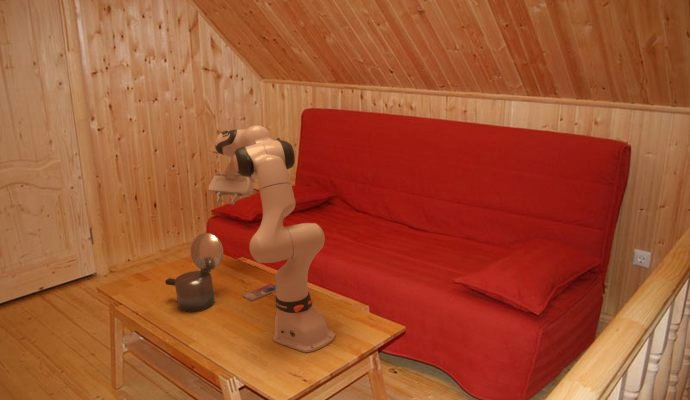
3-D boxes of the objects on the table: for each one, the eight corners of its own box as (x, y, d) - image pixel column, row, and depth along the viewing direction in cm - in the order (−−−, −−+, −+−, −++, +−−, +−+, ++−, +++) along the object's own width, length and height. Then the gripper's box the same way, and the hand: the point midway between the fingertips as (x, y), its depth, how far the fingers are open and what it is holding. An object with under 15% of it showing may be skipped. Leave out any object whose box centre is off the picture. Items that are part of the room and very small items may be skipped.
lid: (189, 269, 228) (193, 269, 230) (220, 274, 222) (224, 273, 225) (191, 231, 228) (196, 231, 230) (222, 235, 222) (226, 234, 224)
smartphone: (241, 295, 226) (271, 282, 235) (241, 297, 226) (271, 284, 236) (251, 300, 221) (282, 287, 230) (251, 302, 221) (282, 289, 231)
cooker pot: (181, 291, 233) (177, 267, 229) (221, 298, 225) (218, 273, 222) (158, 307, 220) (154, 281, 217) (200, 314, 213) (196, 288, 210)
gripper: (211, 169, 242) (200, 198, 236) (252, 172, 234) (242, 201, 228) (218, 177, 247) (208, 204, 241) (258, 179, 239) (249, 208, 234)
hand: (225, 203), depth 235 cm, fingers open, 5 cm apart
